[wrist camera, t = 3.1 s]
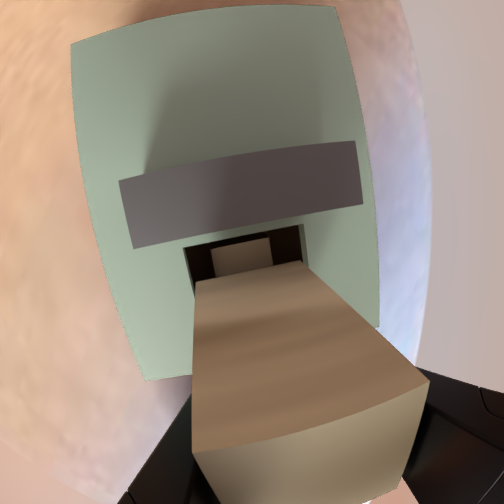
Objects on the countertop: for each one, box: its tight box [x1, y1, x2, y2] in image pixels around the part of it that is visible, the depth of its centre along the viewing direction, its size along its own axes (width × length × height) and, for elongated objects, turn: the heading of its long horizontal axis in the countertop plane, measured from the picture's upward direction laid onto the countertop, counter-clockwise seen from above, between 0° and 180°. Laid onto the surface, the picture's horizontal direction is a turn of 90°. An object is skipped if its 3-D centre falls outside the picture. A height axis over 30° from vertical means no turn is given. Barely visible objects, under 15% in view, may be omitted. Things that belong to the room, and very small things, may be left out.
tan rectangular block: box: [192, 260, 430, 504], centre depth 7 cm, size 4×4×7 cm
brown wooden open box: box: [185, 225, 303, 289], centre depth 15 cm, size 16×12×6 cm
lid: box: [71, 4, 379, 381], centre depth 10 cm, size 16×12×4 cm
